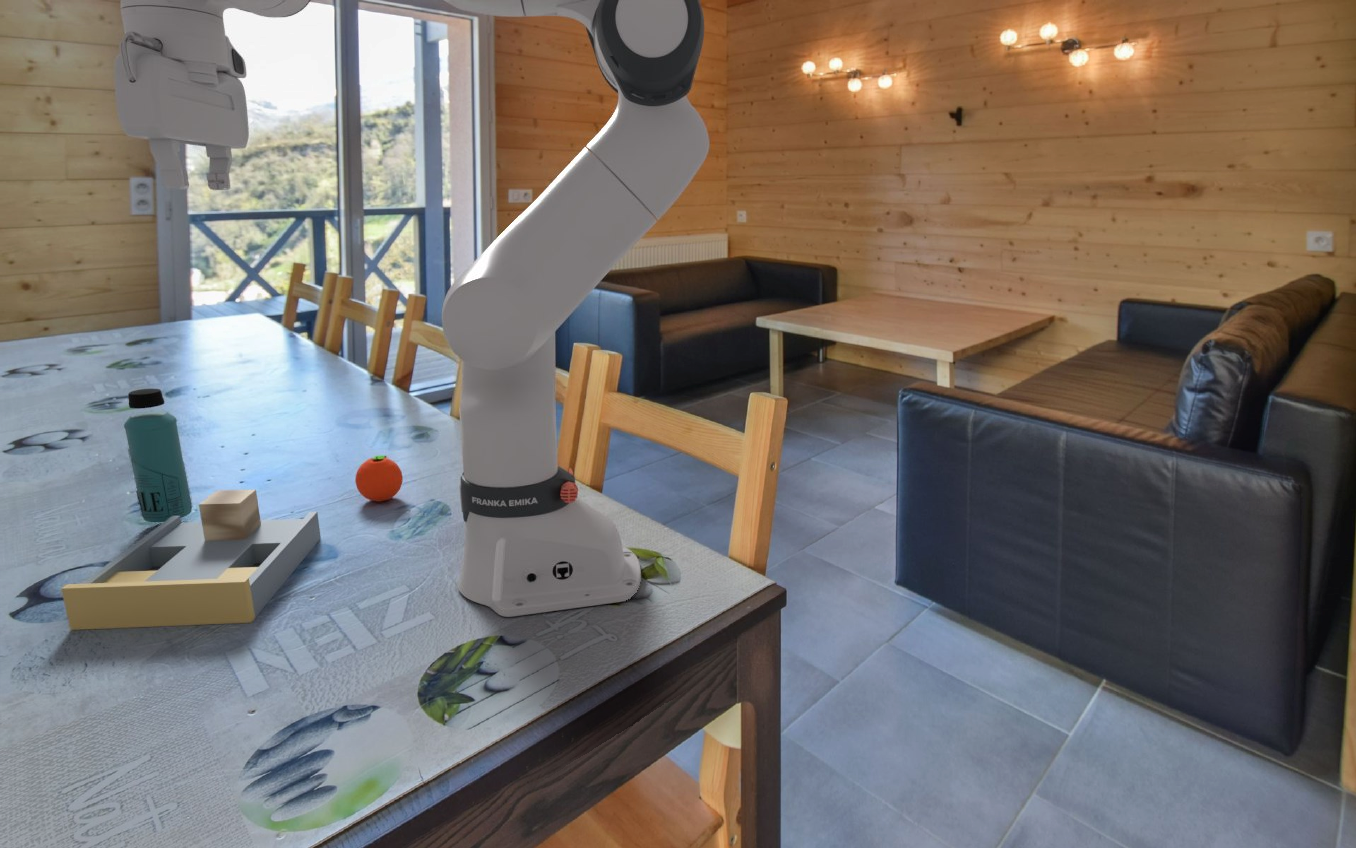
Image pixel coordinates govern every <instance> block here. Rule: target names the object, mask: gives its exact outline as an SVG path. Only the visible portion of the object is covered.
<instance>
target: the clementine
mask: <svg viewBox="0 0 1356 848" xmlns="http://www.w3.org/2000/svg"><path fill="white" fill-rule="evenodd" d="M354 478H355V485H356V488H357V490H358V492H359V495H361V496H362V497H364V499H367V500H369V501H372V502H384V501H388V500H391V499H392V498H393V497H394V496H396V495H397V494H398V493H399V492H400V490H401V488H402V484H403V472H402V470H401V467H400V466H399V465H398V463H397V462H395V461H394V460H392V459H391V458H390V459H389V458H388V457H387V455H376V456H374V457H371V458H368V459H367V460H366V461H364V462H363V463H361V465H360V466H359V467H358V469H357V471H356V474H355V477H354Z"/></svg>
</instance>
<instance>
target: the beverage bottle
mask: <svg viewBox="0 0 1356 848" xmlns="http://www.w3.org/2000/svg"><path fill="white" fill-rule="evenodd" d="M162 405H165V399H164V396H163V393H162V390H161V389H160V388H142V389H135V390H132V391H129V392H128V406H129V408H130V409H148V408H149V409H151V408H155V407H159V406H162ZM123 427H124V431H125V434H126V440H127V446H126V449H127V452H128V456H129V462H130V465H131V468H132V471H133V480H134V483H135V492H136V497H137V504H138V506H139V507H138V508H139V512H140V517H142V518H143V520H144V521H145V522H149V523H163V522H165V521H166V520H168V519H169V518H170V517H172V516H180V518H181V519H182V518H185V517H186V516H189V514H190V513H191V512H192V510H193V509H192V507H193V506H194V505H193V500H192V494H191V493H192V492H191V490H190V489H191V488H190V486H189V480H188V478H189V477H188V475H187V473H188V471H187V469H186V464H185V462H184V458H183V453H182V446H181V442H180V441H181V440H180V435H179V430H178V425H177V418H176V417H175V416H174V415H172V414H171V413H169V412H167V411H165V410H159V409H158V410H147V411H141V412H138V413H137V412H136V413H134V414H131V416H130V417H128V419H127V420H126V421H125V422H124V424H123Z"/></svg>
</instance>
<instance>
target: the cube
mask: <svg viewBox="0 0 1356 848" xmlns="http://www.w3.org/2000/svg"><path fill="white" fill-rule="evenodd" d="M198 508H199V514H200V520H201V521H200V522H202V527H203V533H204V539H205V541H209V540H240V539H246V538H247V537H248V536H249V535H250V534H251V533H252V532H253V531H254V530H256V529H257V528H258V527H259V526H260V525H261V521H260V520H261V515H260V508H259V502H258V495H257V489H228V490H225V489H224V490H216V491H214V492H213V493H212V494H210V495H209V496H208V497H206V498H205V499H204V500H202V501H201V502H200V503H199V504H198Z"/></svg>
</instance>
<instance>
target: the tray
mask: <svg viewBox="0 0 1356 848" xmlns="http://www.w3.org/2000/svg"><path fill="white" fill-rule="evenodd" d="M318 513H319V512H318V511H309V512H308V513H307V514H306V515H305V517H303V518H291V519H290V518H288V519H285V518H283V519H260V521H261V525H260V526H259V527H258V528H257V529H256V530H254V531H253V532H252V533H251V534H250V535H249V536H248V537H247V538H246V539H240V540H209V541H205V539H204V533H203V527H202V521H188V522H186V521H185V522H182V518H180V516H172V517H170V518H169V519H168V520H166V521H165V522H161V524H159V525H158V526H157V527H155V528H154V529H152V531H150V532H149V533H147V534H146V535H145V536H143V537H142V538H140V539H139V540H138V541H137V542H135V543H134V544H132V545H131V546H130V547H128V548H127V549H126V550H124V551H123V552H122V553H120V554H119V555H118V556H116V557H115V558H114V559H112V560H110V561H109V562H108V563H107V564H106V565H104V566H102V568H100V569H99V570H97V571H96V572H95V573H93V574H92V575H91V576H89V577H88V578H87V579H85V580H84V581H83V582H81V583H66V585H64V586H63V587H61V595H62V599H63V603H64V607H65V611H66V616H67V620H68V624H69V628H70V629H69V630H70V631H77V630H99V629H101V630H102V629H122V628H123V629H124V628H127V629H128V628H149V627H151V628H153V627H173V626H175V627H176V626H177V627H178V626H196V625H200V626H201V625H221V624H222V625H225V624H244V623H245V624H246V623H247V624H249V623H252V622H253V621H254V620H255V619H256V618H257V616H258V615H260V613H261V612H262V611H263V609H264V608H265V607H266V605H267V604H268V603H269V602H270V601H271V599H273V597H274V595H276V593H277V592H278V591H279V590H280V589H281V588H282V586H283V585H284V583H285V582H286V581H287V580H288V579H289V578H290V576H291V575H292V574H293V573H294V572H295V570H296V569H297V568H298V567H299V565H300V564H301V563H302V562H303V561H304V559H305V558H306V557H307V556H308V555H309V553H310V552H311V551H312V550H313V549H314V547H315V546H316V545H317V544H318V543H319V541H320V540H321V539H322V538H321V530H320V523H319V522H320V521H319V515H318Z"/></svg>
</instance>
